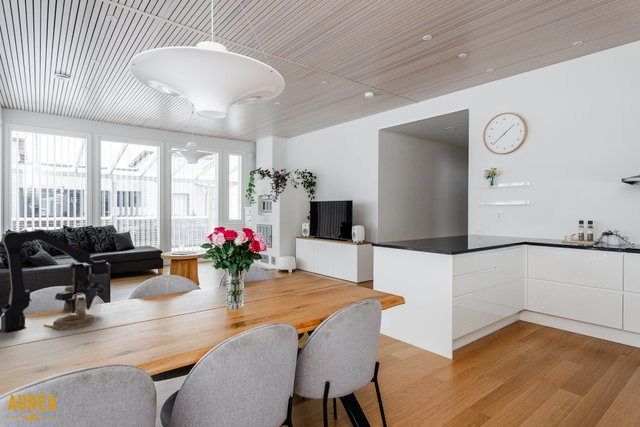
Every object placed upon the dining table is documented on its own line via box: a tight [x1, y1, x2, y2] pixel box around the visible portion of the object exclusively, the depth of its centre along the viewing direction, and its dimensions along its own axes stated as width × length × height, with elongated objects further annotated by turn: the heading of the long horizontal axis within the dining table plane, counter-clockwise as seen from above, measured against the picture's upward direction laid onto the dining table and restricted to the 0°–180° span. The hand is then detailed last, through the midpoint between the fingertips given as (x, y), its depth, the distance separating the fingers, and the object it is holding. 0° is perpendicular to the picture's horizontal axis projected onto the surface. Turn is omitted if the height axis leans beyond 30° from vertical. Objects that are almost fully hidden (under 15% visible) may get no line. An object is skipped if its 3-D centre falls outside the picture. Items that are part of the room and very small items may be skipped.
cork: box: [63, 285, 78, 310], centre depth 171 cm, size 6×6×11 cm
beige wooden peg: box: [75, 296, 87, 315], centre depth 156 cm, size 4×4×9 cm
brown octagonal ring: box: [52, 313, 94, 331], centre depth 146 cm, size 13×13×2 cm
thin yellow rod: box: [43, 323, 53, 328], centre depth 143 cm, size 1×7×1 cm, turn 67°
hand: (80, 311), depth 156 cm, fingers open, 6 cm apart
